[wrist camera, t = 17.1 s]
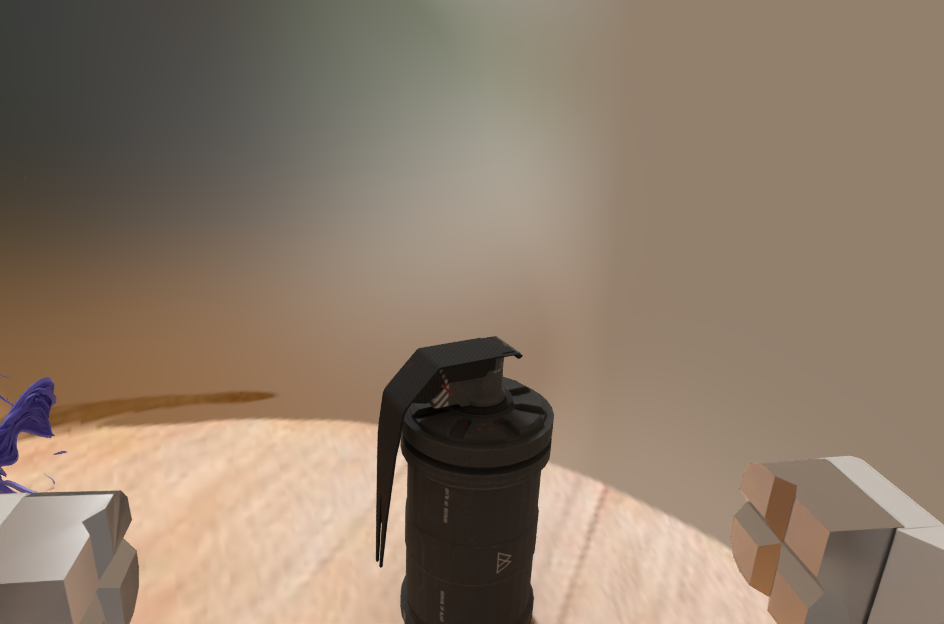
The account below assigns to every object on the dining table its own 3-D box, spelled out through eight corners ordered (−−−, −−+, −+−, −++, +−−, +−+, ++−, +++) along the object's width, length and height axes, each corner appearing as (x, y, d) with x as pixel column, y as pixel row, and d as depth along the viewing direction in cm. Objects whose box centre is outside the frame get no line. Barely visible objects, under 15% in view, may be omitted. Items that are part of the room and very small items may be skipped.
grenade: (560, 640, 45) (592, 366, 38) (407, 707, 40) (412, 403, 33) (489, 555, 52) (506, 312, 45) (353, 602, 47) (349, 336, 40)
